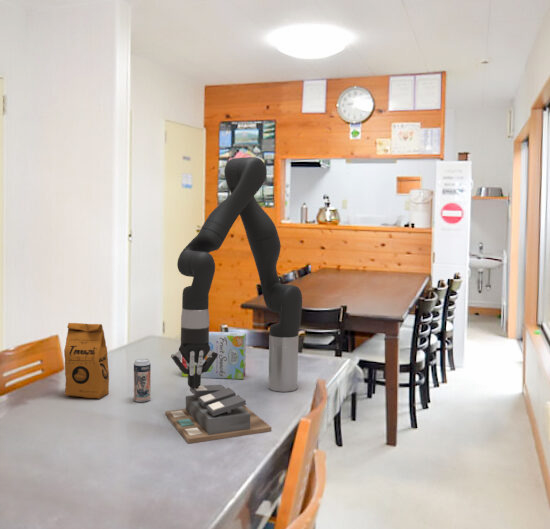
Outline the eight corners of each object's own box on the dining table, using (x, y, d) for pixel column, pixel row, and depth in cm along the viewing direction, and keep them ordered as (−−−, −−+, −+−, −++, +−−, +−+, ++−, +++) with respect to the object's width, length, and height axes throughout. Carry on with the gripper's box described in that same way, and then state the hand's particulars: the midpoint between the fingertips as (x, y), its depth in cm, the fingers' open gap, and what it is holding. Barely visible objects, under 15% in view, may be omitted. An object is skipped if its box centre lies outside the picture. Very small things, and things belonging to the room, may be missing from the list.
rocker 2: (198, 404, 161) (197, 397, 160) (230, 394, 164) (228, 386, 164) (204, 410, 156) (203, 402, 156) (236, 399, 160) (235, 391, 159)
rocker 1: (189, 393, 167) (190, 385, 167) (220, 391, 171) (220, 383, 170) (195, 398, 162) (195, 390, 162) (226, 396, 166) (227, 388, 166)
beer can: (134, 403, 175) (134, 362, 174) (133, 398, 180) (133, 358, 179) (151, 402, 177) (151, 362, 175) (150, 397, 181) (149, 358, 180)
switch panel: (165, 415, 166) (165, 397, 165) (239, 405, 175) (240, 388, 175) (188, 443, 146) (188, 423, 146) (271, 431, 155) (271, 412, 155)
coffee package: (98, 401, 176) (98, 327, 174) (60, 398, 179) (58, 325, 177) (114, 391, 186) (113, 321, 184) (77, 389, 188) (76, 319, 186)
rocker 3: (207, 413, 154) (205, 405, 154) (239, 401, 158) (237, 394, 158) (213, 419, 150) (211, 411, 149) (246, 407, 153) (245, 399, 153)
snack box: (245, 375, 207) (246, 332, 206) (243, 380, 201) (243, 335, 200) (185, 372, 209) (185, 329, 208) (181, 377, 204) (181, 333, 202)
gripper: (214, 321, 169) (212, 382, 171) (167, 323, 164) (166, 386, 165) (223, 326, 162) (221, 389, 164) (174, 328, 157) (173, 394, 158)
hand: (194, 387), depth 164 cm, fingers closed
